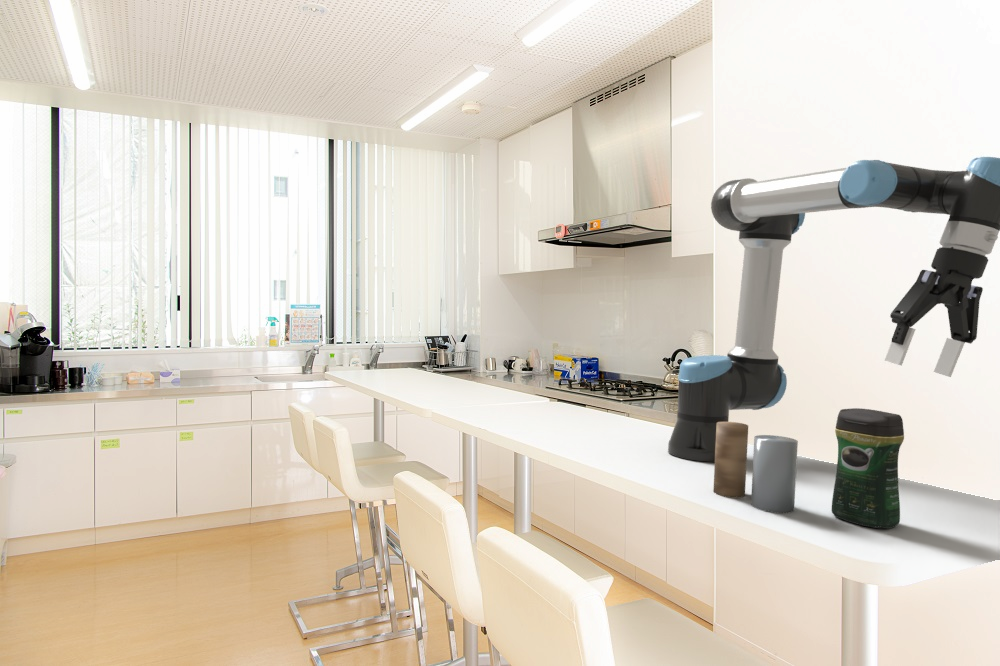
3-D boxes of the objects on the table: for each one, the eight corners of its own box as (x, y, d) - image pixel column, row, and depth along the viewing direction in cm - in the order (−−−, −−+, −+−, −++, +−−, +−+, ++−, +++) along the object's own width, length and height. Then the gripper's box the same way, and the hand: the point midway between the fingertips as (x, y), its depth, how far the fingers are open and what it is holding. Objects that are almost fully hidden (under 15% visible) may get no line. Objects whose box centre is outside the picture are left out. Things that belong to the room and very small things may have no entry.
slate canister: (742, 502, 116) (745, 435, 116) (773, 499, 119) (777, 434, 118) (770, 514, 110) (774, 443, 109) (803, 511, 112) (807, 442, 112)
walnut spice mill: (707, 489, 124) (710, 422, 123) (731, 488, 126) (734, 421, 125) (726, 498, 119) (729, 427, 118) (751, 496, 120) (755, 426, 120)
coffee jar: (907, 526, 106) (914, 412, 105) (880, 533, 102) (887, 415, 101) (849, 509, 114) (855, 404, 114) (822, 515, 110) (828, 406, 109)
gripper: (939, 236, 102) (891, 364, 106) (1029, 270, 112) (982, 385, 116) (896, 231, 109) (852, 351, 112) (984, 263, 119) (941, 372, 123)
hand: (918, 369), depth 114 cm, fingers open, 13 cm apart
